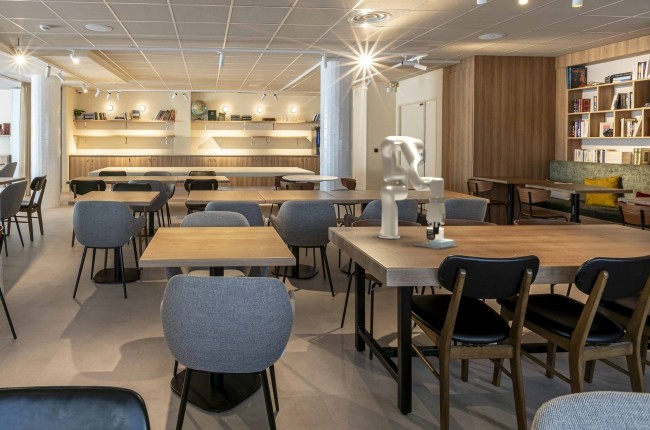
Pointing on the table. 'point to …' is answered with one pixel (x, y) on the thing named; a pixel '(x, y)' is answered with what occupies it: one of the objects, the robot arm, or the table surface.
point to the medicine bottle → (432, 236)
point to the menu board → (442, 243)
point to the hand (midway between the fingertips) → (435, 234)
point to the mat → (432, 246)
